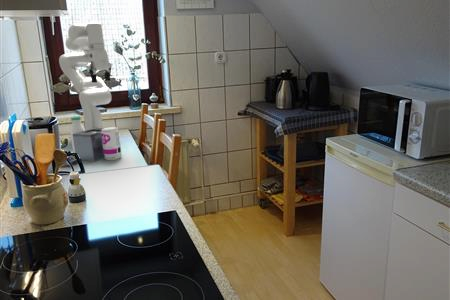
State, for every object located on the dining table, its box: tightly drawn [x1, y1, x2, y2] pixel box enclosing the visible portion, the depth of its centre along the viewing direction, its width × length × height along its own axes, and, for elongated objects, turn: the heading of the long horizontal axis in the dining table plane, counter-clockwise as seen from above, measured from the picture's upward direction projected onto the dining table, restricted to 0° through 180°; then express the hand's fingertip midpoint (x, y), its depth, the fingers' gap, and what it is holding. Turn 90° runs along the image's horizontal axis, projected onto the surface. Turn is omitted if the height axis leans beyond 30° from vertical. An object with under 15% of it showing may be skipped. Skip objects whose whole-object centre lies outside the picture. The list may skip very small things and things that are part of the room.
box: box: [73, 127, 105, 162], centre depth 201 cm, size 12×16×13 cm
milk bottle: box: [70, 115, 86, 153], centre depth 206 cm, size 8×8×20 cm
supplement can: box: [101, 126, 123, 161], centre depth 195 cm, size 8×8×15 cm
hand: (101, 81), depth 208 cm, fingers open, 9 cm apart
